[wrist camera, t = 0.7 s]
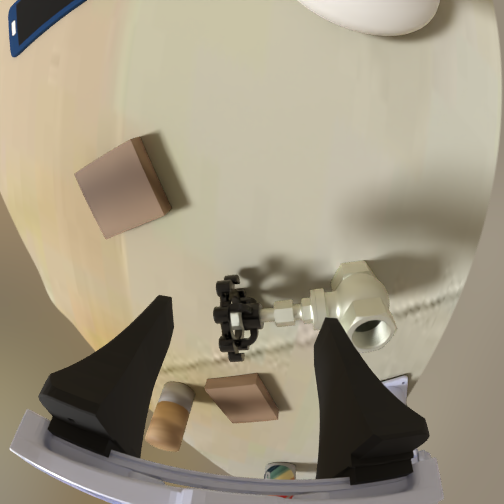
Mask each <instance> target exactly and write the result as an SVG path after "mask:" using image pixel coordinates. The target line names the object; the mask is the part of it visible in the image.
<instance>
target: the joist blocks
mask: <svg viewBox="0 0 504 504" xmlns="http://www.w3.org/2000/svg"><path fill="white" fill-rule="evenodd" d="M74 175H75V177H76V179H77V182H78V184H79V186H80V188H81V190H82V193H83V195H84V197H85V199H86V201H87V203H88V205H89V207H90V209H91V211H92V214H93V216H94V218H95V220H96V221H97V223H98V225H99V227H100V229H101V231H102V233H103V235H104V237H105V239H108V238H110V237H113V236H115V235H117V234H120V233H122V232H125V231H127V230H130V229H132V228H134V227H137V226H139V225H142V224H144V223H147V222H149V221H152V220H154V219H157V218H159V217H162V216H165V215H166V214H167V213H168V212H169V211H170V210H171V209H172V208H171V206H170V203H169V201H168V199H167V197H166V195H165V193H164V190H163V188H162V186H161V184H160V181H159V179H158V177H157V175H156V173H155V170H154V168H153V166H152V163H151V161H150V159H149V156H148V154H147V152H146V150H145V147H144V145H143V142H142V140H141V138H140V137H137V138H133V139H130V140H128V141H126V142H125V143H123V144H121V145H119V146H118V147H116V148H114V149H113V150H111V151H109V152H108V153H106V154H104V155H103V156H101V157H99V158H98V159H96V160H95V161H93V162H91V163H90V164H88V165H87V166H85V167H84V168H82V169H81V170H79V171H78V172H76V173H75V174H74ZM205 391H206V392H207V393H208V394H209V396H210V397H211V398H212V399H213V401H214V402H215V403H216V404H217V405H218V407H219V408H220V409H221V410H222V411H223V413H224V414H225V415H226V416H227V417H228V418H229V420H230V421H231V422H232V423H246V422H259V421H269V420H278V413H279V409H278V408H277V406H276V404H275V403H274V401H273V399H272V398H271V396H270V394H269V393H268V391H267V389H266V388H265V386H264V384H263V382H262V381H261V379H260V377H259V375H258V374H257V373H255V374H247V375H240V376H232V377H223V378H214V379H207V382H206V385H205Z"/></svg>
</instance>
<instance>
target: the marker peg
mask: <svg viewBox="0 0 504 504" xmlns="http://www.w3.org/2000/svg"><path fill="white" fill-rule="evenodd" d="M194 397H195V393H194V391H193V390H192V389H191V388H190V387H188V386H186V385H184V384H182V383H179V382H167V383H166V384H165V385H164V388H163V390H162V393H161V396H160V398H159V401H158V404H157V406H156V409H155V412H154V414H153V417H152V420H151V423H150V425H149V428H148V431H147V433H146V436H145V440H146V441H147V442H148V443H149V444H151V445H152V446H154V447H156V448H159V449H162V450H165V451H170V452H177V451H179V449H180V446H181V442H182V439H183V435H184V432H185V428H186V425H187V421H188V418H189V414H190V411H191V407H192V404H193V400H194Z"/></svg>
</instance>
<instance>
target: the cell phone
mask: <svg viewBox="0 0 504 504" xmlns="http://www.w3.org/2000/svg"><path fill="white" fill-rule="evenodd" d="M85 1H87V0H17V1H16V2H15V3H14V4H13V5H12V6H11V8H10V10H9V15H8V21H9V39H10V50H11V55H12V57H17V56H18V55H19V54H20V53H22V52H23V51H24V50H25V49H26V48H27V47H28V46H29V45H30V44H31V43H32V42H33V41H35V40H36V39H37V38H38V37H39V36H40V35H42V34H43V33H44V32H45V31H46V30H47V29H49V28H50V27H51V26H52V25H54V24H55V23H56V22H58V21H59V20H60V19H61V18H63V17H64V16H65V15H67V14H68V13H69V12H71V11H72V10H74V9H75V8H76V7H78V6H79V5H81V4H82V3H84V2H85Z"/></svg>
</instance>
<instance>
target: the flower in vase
mask: <svg viewBox="0 0 504 504" xmlns="http://www.w3.org/2000/svg"><path fill="white" fill-rule="evenodd" d="M298 1H299V2H300V3H301V4H302V5H304V6H305V7H306V8H308V9H309V10H311V11H312V12H314V13H315V14H317V15H318V16H320V17H322V18H324V19H326V20H328V21H330V22H332V23H334V24H337V25H339V26H341V27H344V28H347V29H350V30H353V31H357V32H361V33H365V34H371V35H379V36H398V35H404V34H408V33H411V32H414V31H417V30H419V29H421V28H422V27H424V26H425V25H426V24H428V23H429V22H430V21H431V19H432V18H433V17H434V15H435V13H436V12H437V9H438V6H439V3H440V0H298Z"/></svg>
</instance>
